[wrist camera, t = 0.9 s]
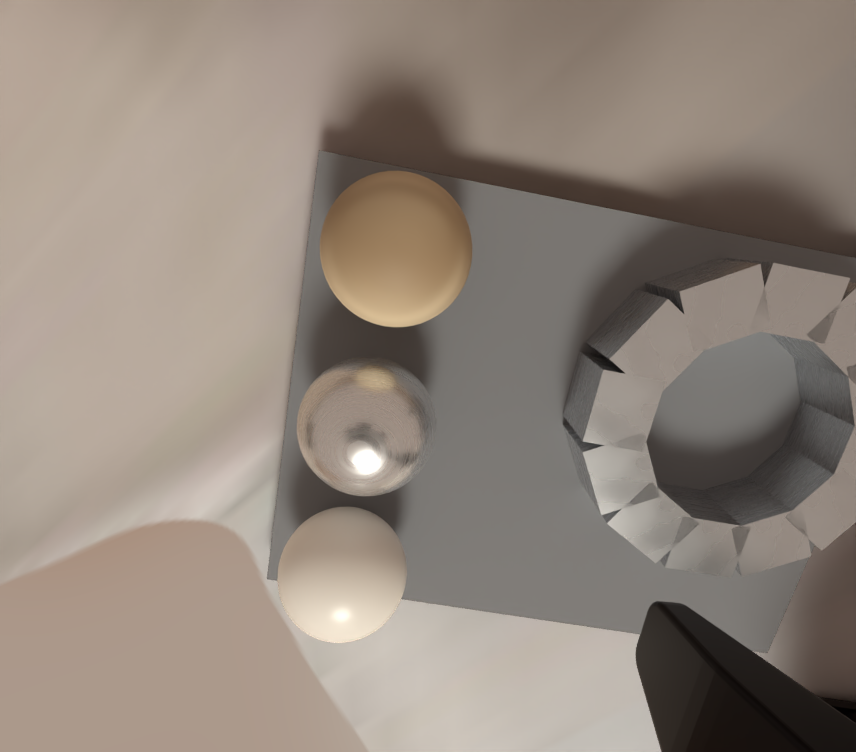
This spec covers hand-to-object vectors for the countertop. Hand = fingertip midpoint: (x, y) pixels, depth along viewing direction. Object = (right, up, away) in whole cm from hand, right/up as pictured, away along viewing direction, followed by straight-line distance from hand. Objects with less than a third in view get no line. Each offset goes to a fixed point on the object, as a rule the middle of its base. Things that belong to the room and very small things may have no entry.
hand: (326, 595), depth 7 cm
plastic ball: (-2, -4, +11) cm, 12 cm away
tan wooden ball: (0, +7, +8) cm, 11 cm away
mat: (+7, +1, +13) cm, 15 cm away
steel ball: (-1, +1, +10) cm, 10 cm away
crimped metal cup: (+12, +2, +12) cm, 17 cm away
